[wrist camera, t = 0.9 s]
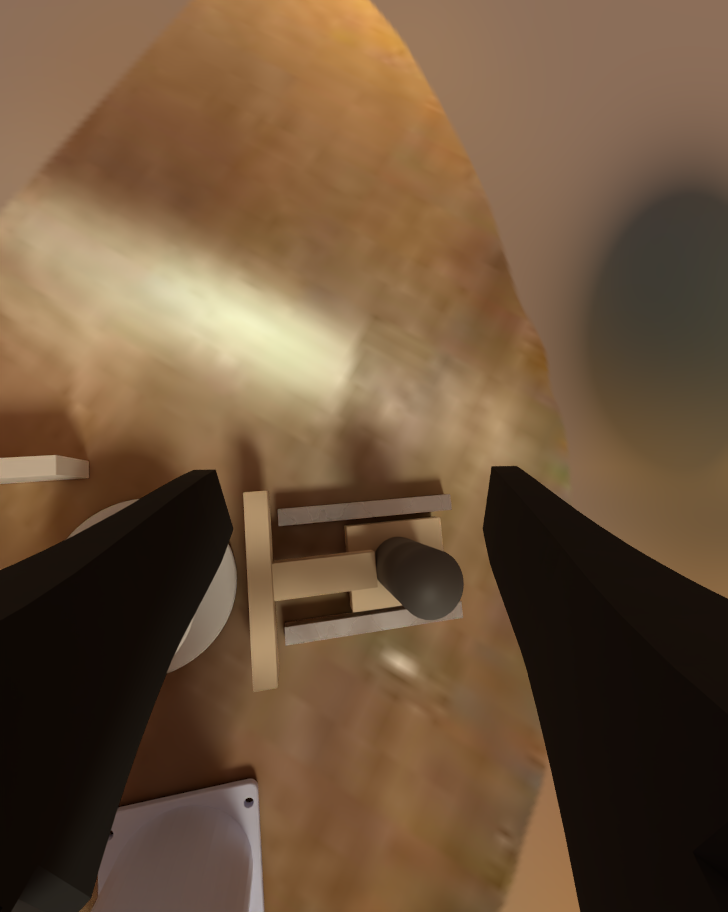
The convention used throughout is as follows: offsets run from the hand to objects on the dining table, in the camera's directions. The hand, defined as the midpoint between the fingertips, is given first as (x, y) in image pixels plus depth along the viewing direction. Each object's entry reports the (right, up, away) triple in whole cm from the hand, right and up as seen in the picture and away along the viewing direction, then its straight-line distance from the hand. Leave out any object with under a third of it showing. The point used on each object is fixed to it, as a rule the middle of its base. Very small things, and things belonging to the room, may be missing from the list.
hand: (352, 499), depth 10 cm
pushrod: (-1, -6, +13) cm, 15 cm away
